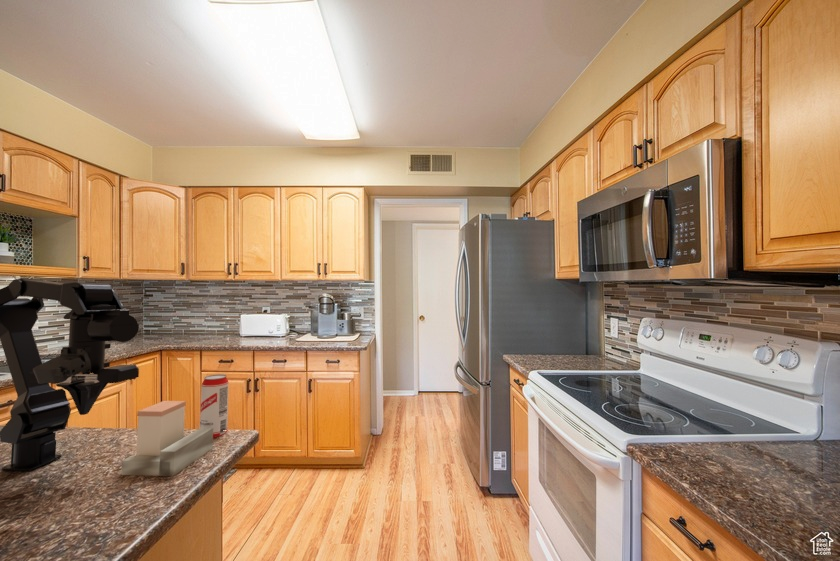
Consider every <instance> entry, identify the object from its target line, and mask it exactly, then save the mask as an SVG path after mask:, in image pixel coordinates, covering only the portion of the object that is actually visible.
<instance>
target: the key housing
mask: <svg viewBox="0 0 840 561" xmlns="http://www.w3.org/2000/svg"><path fill="white" fill-rule="evenodd" d="M213 439H214V437H213V428H200V427H199V428H198V429H197V430H195V431H193V432H191V433H190V434H187V435H184V438H182V439H181V440H179V441H177V442H175V443H174V444H172V445H170V446H169V447H167V448H165V449H163V450H162V451H160V456H142V455H135V454H134V455H129V456H128V457H126V458H124V459H122V460H121V467H120V468H121V471H120V475H121V476H159V477H161V476H165V477H166V476H171V477H172V476H173V477H174V476H175V475H178V473H180V472H181V471H183V470H184V469H186V468H187V467H188V466H190V465H191V464H192V463H194V462H196V461H197V460H199V459H200V458H201V457H202V456H204V455H205V454H207V453H208V452H210V451H211V450H212V449H213V443H214V440H213Z"/></svg>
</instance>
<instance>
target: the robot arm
mask: <svg viewBox="0 0 840 561" xmlns="http://www.w3.org/2000/svg"><path fill="white" fill-rule="evenodd" d="M19 297H21V298H19ZM23 297H27V298H23ZM28 297H32V298H31V299H30V298H28ZM44 299H45V300H50V301H55V302H56V301H58V302H59V304H60V305H61V306H63V307H65V308H68V309H70V311H69V312H67V313H66V314H64V316H63V319H64V320H69V327H68V330H69V332H68V346H62V348H61V349H60V354H59V356H57V357H53V358H51V359H49V360H47V361H45V362H42V358H41V354H40V352H39V349H38V346H37V342H36V339H35V336H34V334H33V330H32V329H34V326H35V324H36V322H38V321H37V320H38V319H39V316H38V313H39V312H40V311H41V310H42V309H43V308H44V307H45V303H44ZM139 327H140V325H139V323H138V321H137V319H136V318H135V317H134V316H132V315H130V309H126V308H125V309H124V305H123V304H122V302H121V301H120V299H119V297H118V296H117V294H116V292H115V290H114V289H113V286H112V285H111V284H110V283H107V282H82V281H78V282H77V281H71V282H70V281H69V282H59V281H51V280H45V279H43V278H24V277H23V278H21V277H20V278H15V279H13V280H12V281H11V282H9V284H8V285H7V286H4V287H2V288H0V343H1V346H2V350H3V353H4V356H5V359H6V364H7V365H8V369H9V373H10V376H11V379H12V382H13V385H14V390H15V392H16V395H17V398H16V399H15V401H14V403H13V405H12V407H11V409H10V410H9V413H10V419H9V420H8V421H7V423H6V424H5V425H4V426H3V427H2V428H1V430H0V442H1V443H6V444H11V455H10V464H7V465H5V466H2V467H1V471H22V472H23V471H25V472H26V471H27V472H29V471H33V470H35V469H37V468H40V467H42V466H44V465H46V464H49V463H51V462H53V461H55V460H58V459H61V458H62V454H56V452H57V439H56V435H57V434H56V432H58V431H63V430H66V428H67V424H68V422H69V418H70V415H71V411H72V409H71V406H70V404H71V403H70V401H69V400H68V397H67V393H66V391H67V392H68V393H69V395H70V396H71V398H72V400H73V403H74V405H75V407H76V409H77V412H78V414H79V415H80V416H84V415H88V414H89V412H90V411H91V410H92V408H93V406H94V405H95V404H96V402H97V400H98V398H99V397H100V395H101V393H102V392H103V391H104V389H105V388H106V387H107V385H108V384H118V383H122V382H125V381H129V380H132V379H136V378H139V374H140V369H139V368H140V367H138V366H137V365H136V364H117V365H112V366H110V365H111V362H110V361H106V350H108V349H111V343H109V342H113V343H114V342H115V343H126V342H129V341H131V340H133V339H134V338H135V337H136V336H137V334H138V333H139V329H140V328H139ZM106 342H108V343H106ZM50 384H52V385H56V387H60V388H58V389H55V388H54V387H53V386H51V385H50Z"/></svg>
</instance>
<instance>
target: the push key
mask: <svg viewBox="0 0 840 561" xmlns="http://www.w3.org/2000/svg"><path fill="white" fill-rule="evenodd" d="M186 403H187V401H186V400H163V401H160V402H157V403H155V404H153V405H150V406H147V407H144V408H142V409H140V410H138V411H137V412H136V415H137V416H136V417H137V437H136V455H142V456H160V451H162V450H163V449H165V448H167V447H169V446H170V445H172V444H174V443H175V442H177V441H179V440H181V439H182V438H184V436H185V413H186Z"/></svg>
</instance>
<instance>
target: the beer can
mask: <svg viewBox="0 0 840 561" xmlns="http://www.w3.org/2000/svg"><path fill="white" fill-rule="evenodd" d="M203 378H204V380H203V381H202V383H201V387H200V389H201V390H200V392H201V393H200V410H199V412H200V413H199V414H200V415H199V416H200V418H199V429H200V428H213V438H217V437H221V436H223V435H225V434H227V432H228V422H229V420H228V419H229V418H228V417H229V416H228V415H229V389H230V388H229V384H230V383H229V380H228V378H227V375H226V374H220V373H219V374H211V375H207V376H204V377H203ZM223 430H227V431H223Z"/></svg>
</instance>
